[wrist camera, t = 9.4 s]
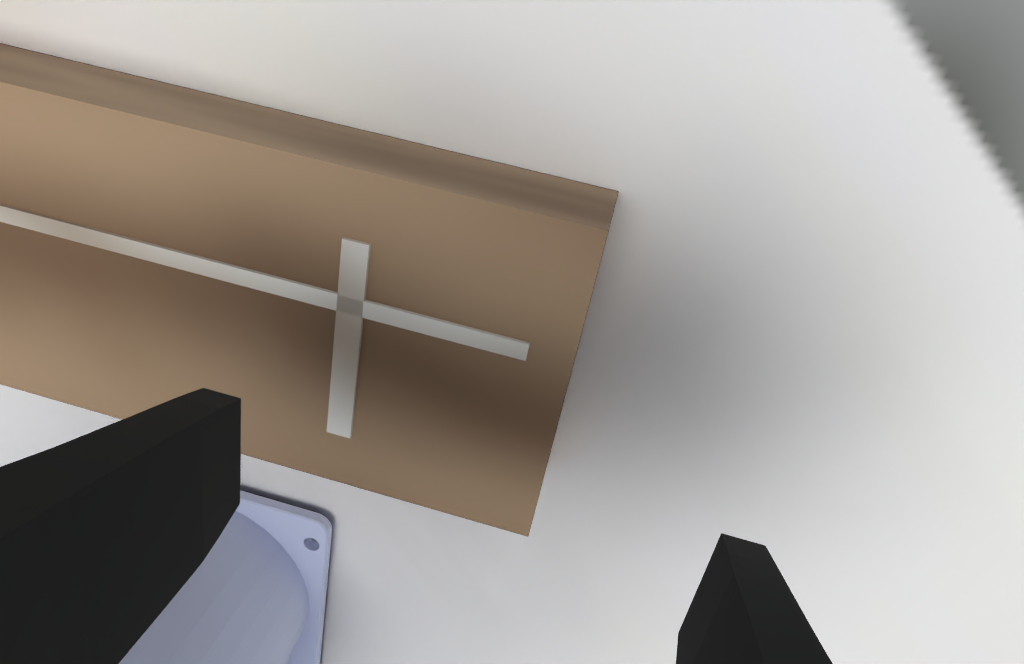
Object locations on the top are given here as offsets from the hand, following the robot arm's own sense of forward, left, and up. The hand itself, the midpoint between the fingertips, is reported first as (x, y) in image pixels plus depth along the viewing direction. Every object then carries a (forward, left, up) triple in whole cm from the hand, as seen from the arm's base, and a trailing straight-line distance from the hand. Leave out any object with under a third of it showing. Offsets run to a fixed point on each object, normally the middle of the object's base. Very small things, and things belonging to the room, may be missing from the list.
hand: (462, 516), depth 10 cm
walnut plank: (-1, +11, -8) cm, 14 cm away
